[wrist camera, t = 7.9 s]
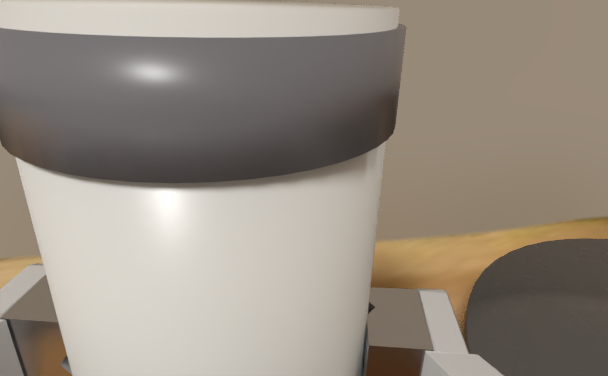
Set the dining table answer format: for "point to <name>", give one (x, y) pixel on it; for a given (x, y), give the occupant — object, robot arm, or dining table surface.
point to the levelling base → (543, 310)
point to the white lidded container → (203, 177)
